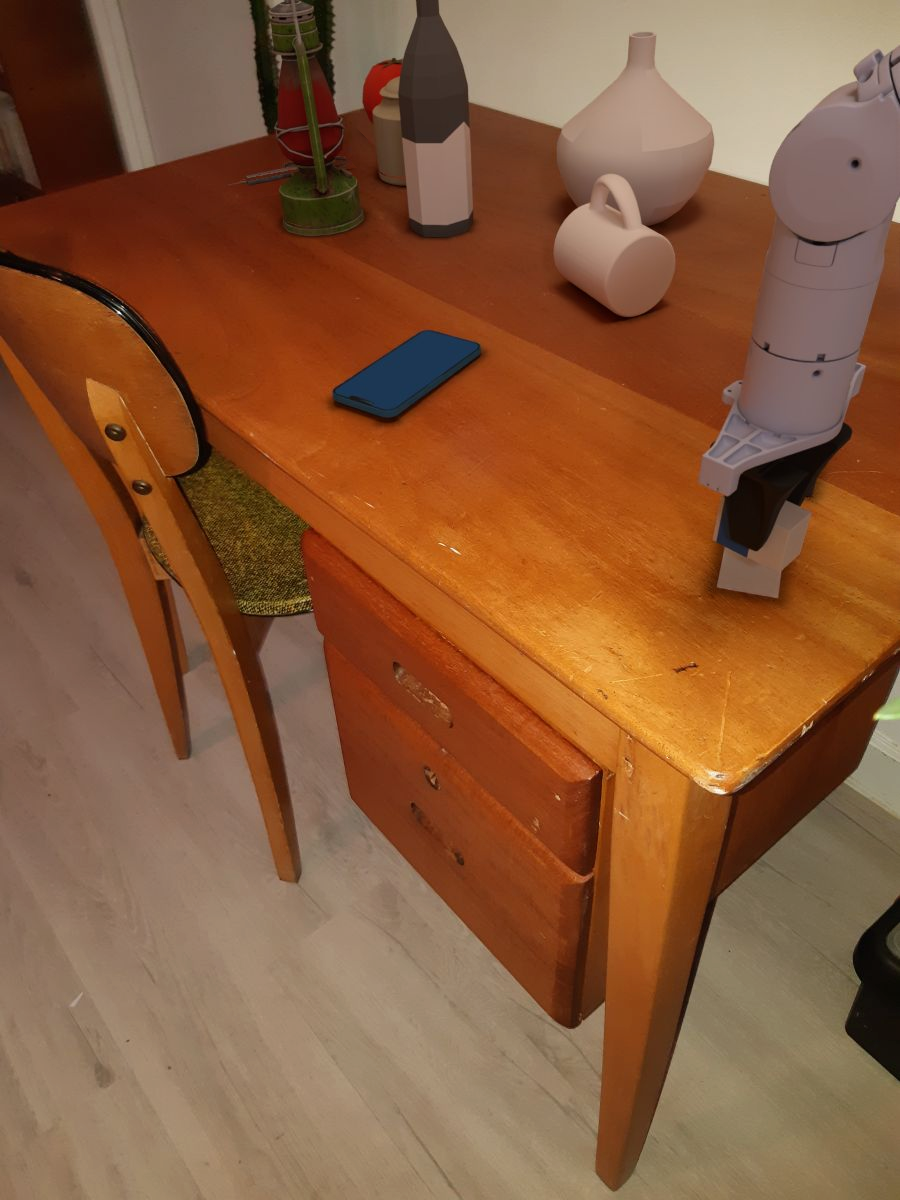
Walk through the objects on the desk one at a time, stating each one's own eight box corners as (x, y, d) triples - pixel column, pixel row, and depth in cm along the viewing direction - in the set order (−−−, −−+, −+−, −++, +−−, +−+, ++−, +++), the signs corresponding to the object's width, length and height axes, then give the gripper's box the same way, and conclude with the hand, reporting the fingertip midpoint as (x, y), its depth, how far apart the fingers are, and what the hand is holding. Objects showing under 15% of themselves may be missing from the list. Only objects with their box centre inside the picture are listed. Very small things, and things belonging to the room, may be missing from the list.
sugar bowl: (356, 164, 130) (341, 46, 120) (423, 149, 133) (414, 33, 123) (398, 192, 120) (386, 67, 110) (469, 175, 123) (464, 52, 113)
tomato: (452, 123, 142) (448, 49, 135) (400, 146, 135) (393, 69, 128) (400, 114, 147) (394, 43, 140) (347, 135, 140) (338, 61, 133)
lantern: (373, 232, 110) (338, -66, 90) (289, 246, 109) (233, -54, 88) (354, 196, 120) (319, -80, 99) (277, 207, 119) (225, -70, 98)
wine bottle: (434, 210, 115) (413, -80, 94) (486, 219, 111) (477, -79, 90) (397, 231, 110) (367, -68, 89) (450, 243, 106) (431, -66, 86)
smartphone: (485, 344, 85) (390, 413, 77) (485, 353, 86) (391, 423, 77) (424, 327, 89) (326, 392, 80) (425, 336, 89) (328, 401, 81)
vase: (667, 253, 100) (688, 61, 87) (528, 227, 108) (528, 48, 95) (727, 199, 111) (754, 21, 98) (596, 179, 119) (605, 12, 106)
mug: (602, 326, 88) (610, 203, 80) (551, 289, 95) (553, 172, 87) (671, 306, 91) (686, 184, 82) (616, 271, 98) (624, 155, 89)
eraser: (800, 554, 58) (812, 511, 55) (778, 574, 56) (790, 531, 54) (734, 522, 60) (743, 479, 58) (711, 540, 59) (719, 498, 57)
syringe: (222, 183, 127) (219, 171, 126) (339, 159, 132) (337, 147, 131) (235, 199, 122) (233, 186, 121) (357, 173, 127) (355, 161, 126)
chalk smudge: (777, 598, 59) (778, 597, 59) (716, 587, 60) (716, 586, 60) (786, 526, 64) (787, 524, 64) (730, 517, 65) (730, 516, 65)
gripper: (808, 273, 54) (766, 459, 63) (665, 364, 47) (641, 557, 56) (922, 306, 50) (859, 499, 59) (784, 410, 43) (738, 609, 52)
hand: (759, 530), depth 57 cm, fingers closed on eraser, 3 cm apart
